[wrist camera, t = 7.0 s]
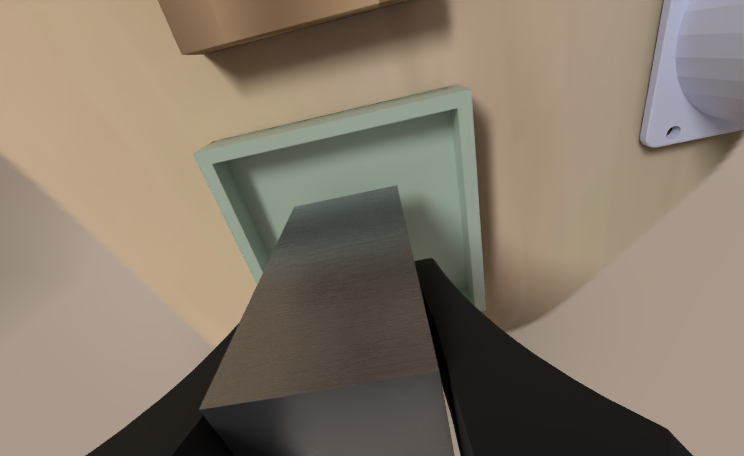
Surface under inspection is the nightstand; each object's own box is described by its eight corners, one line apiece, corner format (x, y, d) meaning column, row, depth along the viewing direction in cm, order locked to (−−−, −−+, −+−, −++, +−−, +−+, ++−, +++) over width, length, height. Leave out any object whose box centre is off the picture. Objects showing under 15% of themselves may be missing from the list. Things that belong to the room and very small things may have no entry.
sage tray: (458, 84, 12) (471, 89, 11) (475, 286, 17) (486, 310, 15) (213, 141, 13) (192, 153, 12) (293, 318, 18) (286, 344, 16)
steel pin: (397, 185, 12) (439, 372, 5) (413, 270, 14) (461, 494, 7) (293, 206, 12) (198, 410, 5) (323, 287, 14) (281, 516, 7)
